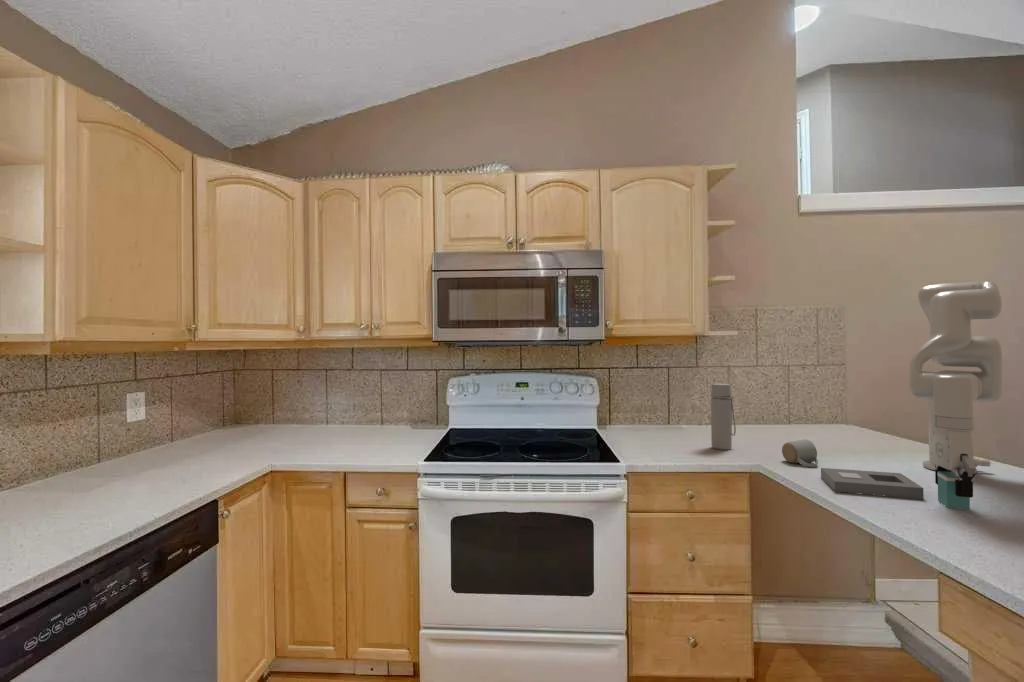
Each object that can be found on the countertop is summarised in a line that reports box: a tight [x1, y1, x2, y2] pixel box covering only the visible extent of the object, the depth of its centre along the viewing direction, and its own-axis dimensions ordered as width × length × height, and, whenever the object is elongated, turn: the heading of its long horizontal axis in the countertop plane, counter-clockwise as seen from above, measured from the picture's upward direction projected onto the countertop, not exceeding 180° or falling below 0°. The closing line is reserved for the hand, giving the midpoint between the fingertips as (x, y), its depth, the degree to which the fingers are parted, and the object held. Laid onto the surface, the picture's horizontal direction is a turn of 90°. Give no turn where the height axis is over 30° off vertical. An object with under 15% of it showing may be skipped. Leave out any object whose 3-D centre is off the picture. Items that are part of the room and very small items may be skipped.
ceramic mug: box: [781, 439, 819, 469], centre depth 160 cm, size 11×8×8 cm
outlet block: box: [820, 467, 924, 500], centre depth 134 cm, size 20×14×3 cm
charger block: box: [937, 471, 971, 510], centre depth 120 cm, size 5×5×8 cm
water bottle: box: [710, 382, 737, 451], centre depth 183 cm, size 9×8×25 cm
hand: (953, 490), depth 119 cm, fingers open, 9 cm apart
